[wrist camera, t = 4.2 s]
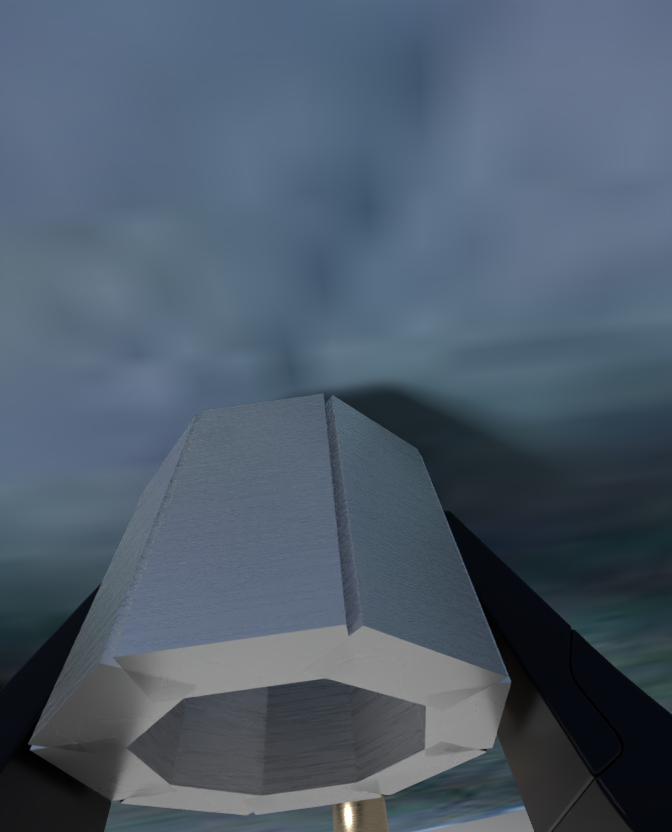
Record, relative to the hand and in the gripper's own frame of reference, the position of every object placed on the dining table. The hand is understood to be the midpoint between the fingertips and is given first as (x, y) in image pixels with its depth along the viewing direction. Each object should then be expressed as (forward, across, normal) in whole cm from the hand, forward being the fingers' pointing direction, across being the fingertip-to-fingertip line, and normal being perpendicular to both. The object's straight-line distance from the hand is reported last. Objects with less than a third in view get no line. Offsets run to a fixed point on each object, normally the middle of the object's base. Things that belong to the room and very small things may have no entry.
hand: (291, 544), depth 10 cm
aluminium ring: (+1, 0, 0) cm, 1 cm away
